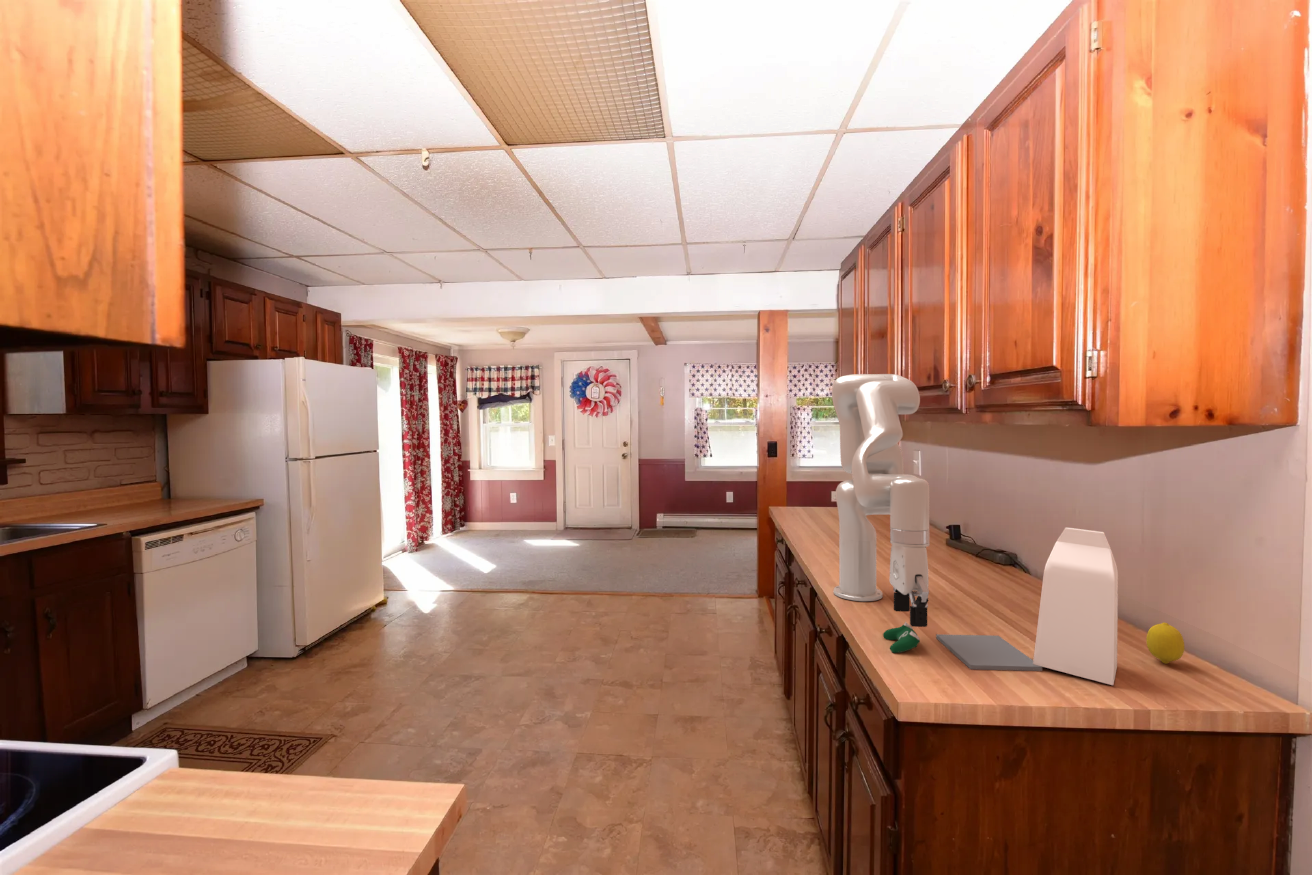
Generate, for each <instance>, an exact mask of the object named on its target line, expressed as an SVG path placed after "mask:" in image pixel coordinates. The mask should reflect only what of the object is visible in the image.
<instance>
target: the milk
mask: <svg viewBox="0 0 1312 875" xmlns="http://www.w3.org/2000/svg"><path fill="white" fill-rule="evenodd" d="M1046 560H1047V561H1046V562H1045V565H1044V570H1043V577H1042V587H1041V595H1040V601H1039V602H1040V603H1039V610H1038V611H1039V612H1038V617H1037V627H1036V635H1035V644H1034V653H1033V659H1032V660H1033V664H1035V665H1038V666H1042V668H1047V669H1050V670H1053V671H1058V672H1062V673H1066V674H1068V675H1073V676H1076V677H1081V678H1084V679H1087V680H1092V681H1095V682H1099V683H1102V684H1107V685H1111V686H1114V683H1115V679H1116V672H1117V670H1118V669H1117V668H1118V620H1119V619H1118V608H1119V606H1118V602H1119V601H1118V600H1119V599H1118V598H1119V596H1118V595H1119V594H1118V593H1119V592H1118V591H1119V590H1118V589H1119V587H1118V586H1119V583H1118V582H1119V571H1118V566H1117V562H1116V559H1115V556H1114V554H1113V551H1112V548H1111V545H1110V543H1109V541H1108V538H1107V536H1106V534H1105V532H1104V531H1099V530H1098V531H1097V530H1090V529H1089V530H1088V529H1083V528H1081V529H1080V528H1076V527H1075V528H1073V527H1064V529H1063V531H1062V532H1061V534H1060V535H1059V537H1058V538H1057V540H1056V542H1055V543H1054V544H1053V548H1052V550H1051V552H1050V555H1049V556H1048V558H1047V559H1046Z"/></svg>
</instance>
